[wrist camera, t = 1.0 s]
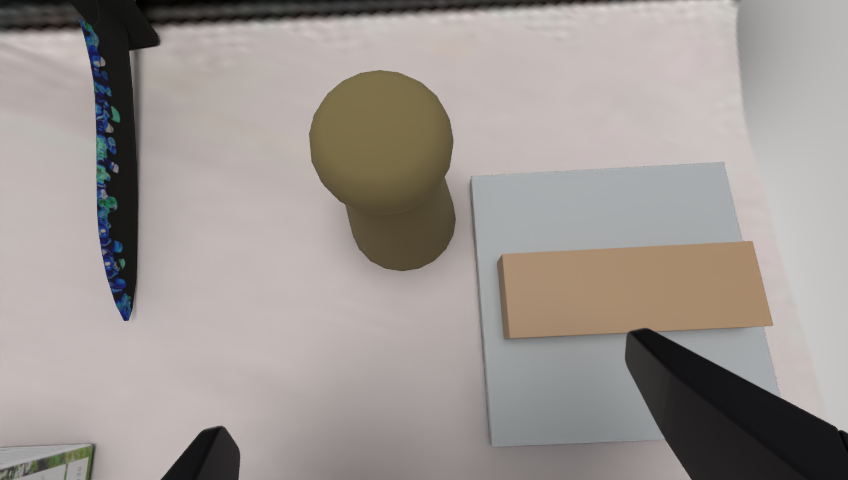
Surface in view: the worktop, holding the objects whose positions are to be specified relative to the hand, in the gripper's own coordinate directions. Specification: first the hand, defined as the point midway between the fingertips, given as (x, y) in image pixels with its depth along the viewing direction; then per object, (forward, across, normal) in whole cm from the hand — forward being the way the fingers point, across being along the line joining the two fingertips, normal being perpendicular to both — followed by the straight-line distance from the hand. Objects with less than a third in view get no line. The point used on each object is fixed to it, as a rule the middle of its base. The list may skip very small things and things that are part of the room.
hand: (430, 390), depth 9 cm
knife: (+25, +15, -5) cm, 29 cm away
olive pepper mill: (+16, 0, +4) cm, 16 cm away
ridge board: (+11, -10, +8) cm, 17 cm away
